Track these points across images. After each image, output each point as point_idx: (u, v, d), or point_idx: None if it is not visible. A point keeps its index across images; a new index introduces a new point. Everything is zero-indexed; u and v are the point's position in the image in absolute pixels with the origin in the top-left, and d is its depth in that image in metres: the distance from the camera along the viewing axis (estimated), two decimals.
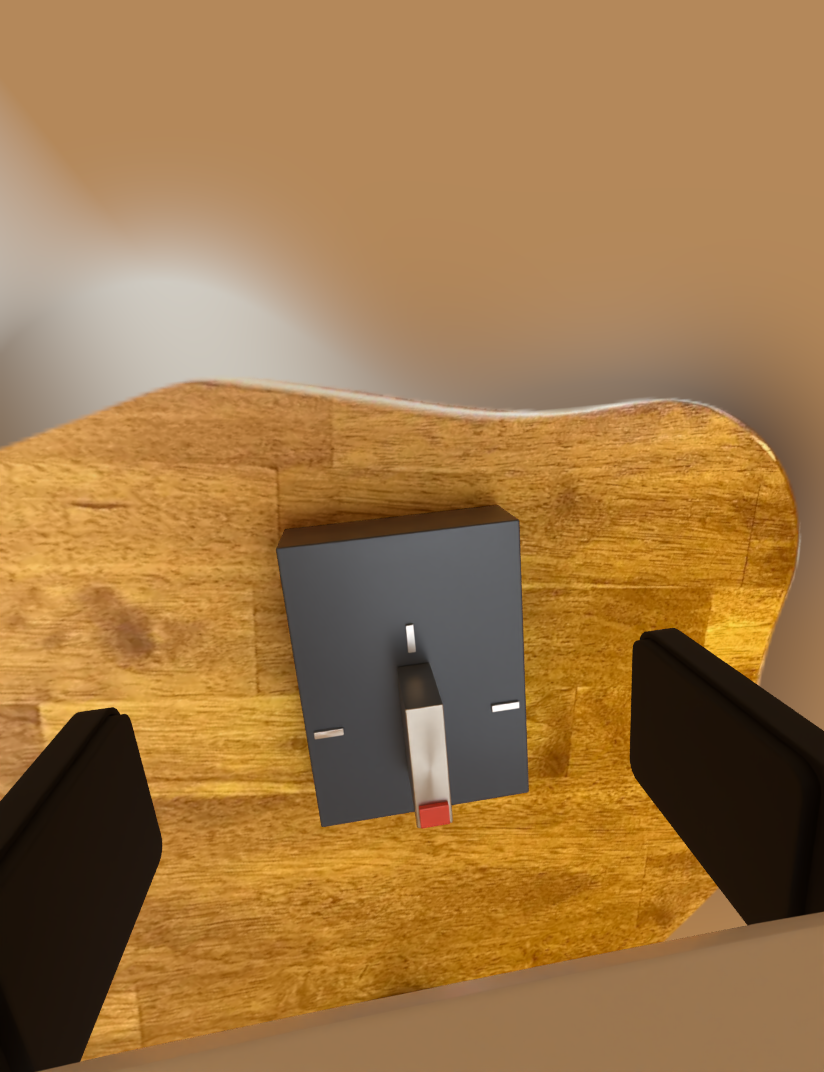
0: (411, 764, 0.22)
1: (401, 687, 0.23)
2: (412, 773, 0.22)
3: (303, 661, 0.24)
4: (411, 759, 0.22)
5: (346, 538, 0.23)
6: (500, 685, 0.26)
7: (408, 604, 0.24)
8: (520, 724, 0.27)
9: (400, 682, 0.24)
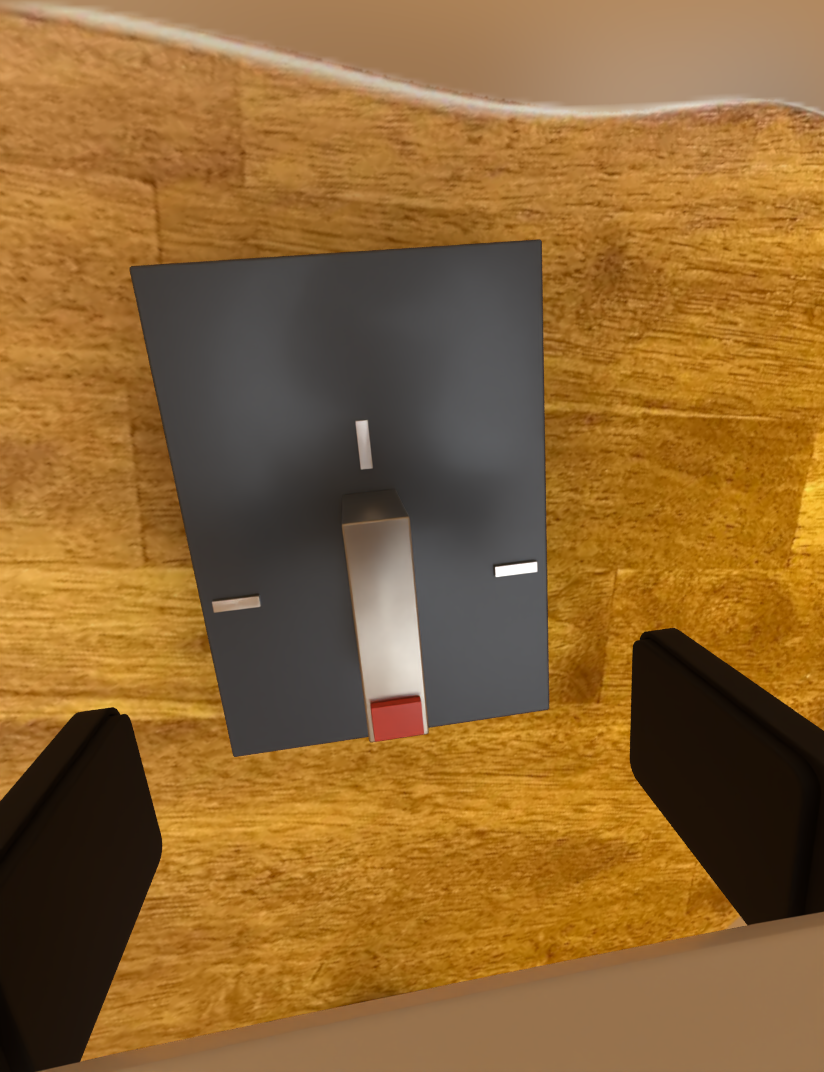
0: (356, 628, 0.13)
1: (343, 508, 0.14)
2: (358, 644, 0.13)
3: (189, 478, 0.15)
4: (355, 618, 0.13)
5: (252, 259, 0.14)
6: (508, 533, 0.17)
7: (359, 385, 0.15)
8: (538, 600, 0.17)
9: (343, 505, 0.14)
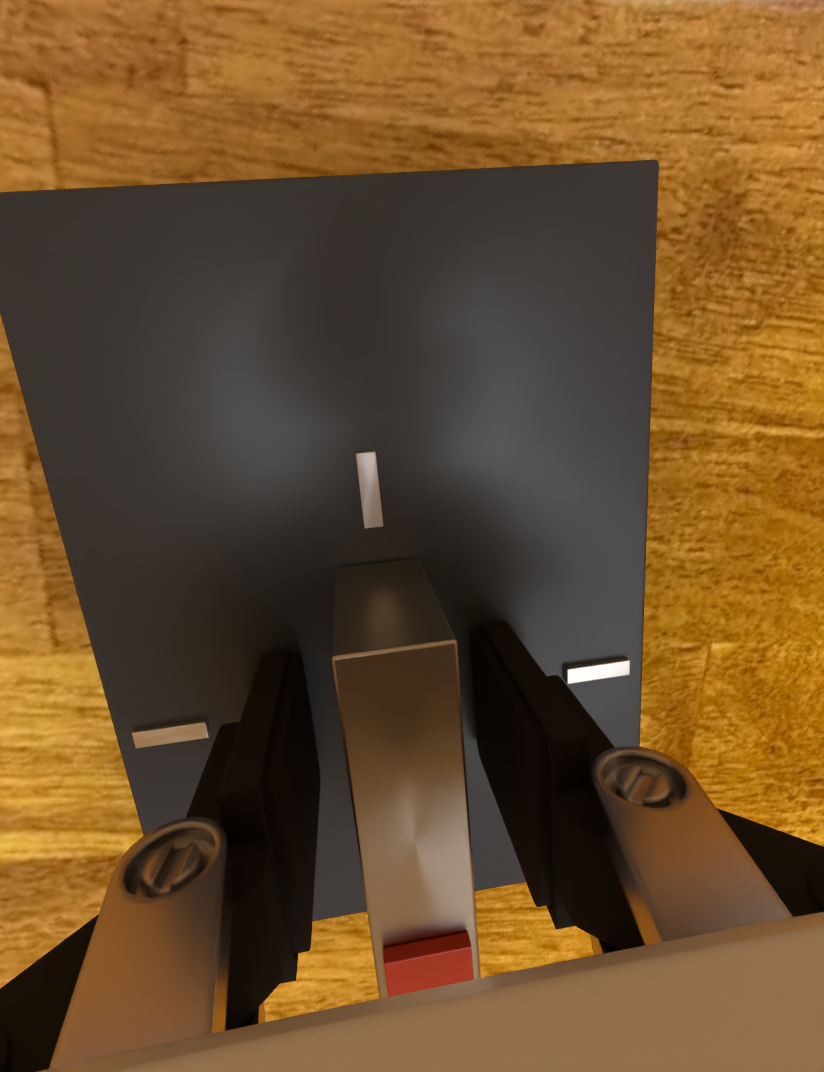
0: (358, 829, 0.07)
1: (336, 604, 0.08)
2: (362, 856, 0.07)
3: (89, 546, 0.09)
4: (357, 815, 0.07)
5: (184, 187, 0.08)
6: (587, 619, 0.11)
7: (363, 396, 0.09)
8: (627, 713, 0.12)
9: (336, 594, 0.09)
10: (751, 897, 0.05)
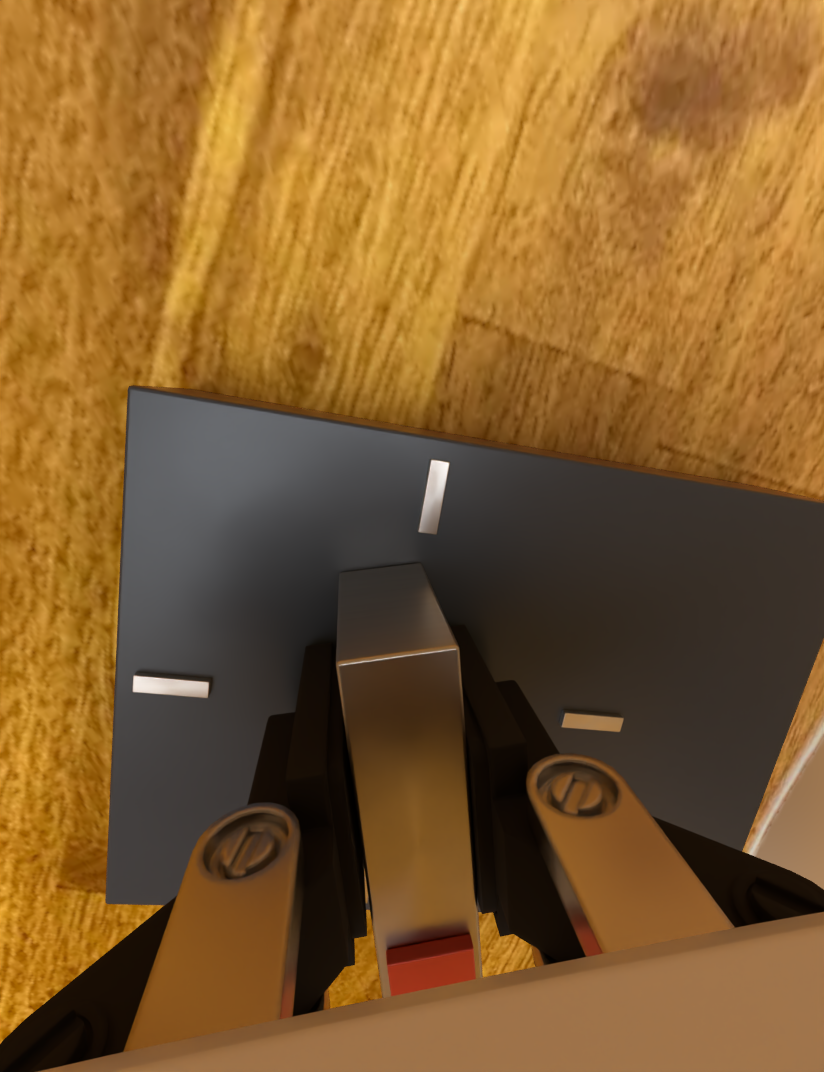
0: (361, 832, 0.07)
1: (339, 609, 0.08)
2: (365, 859, 0.07)
3: (630, 493, 0.10)
4: (360, 818, 0.07)
5: (813, 638, 0.12)
6: None
7: (656, 727, 0.12)
8: None
9: (340, 599, 0.09)
10: (686, 899, 0.05)
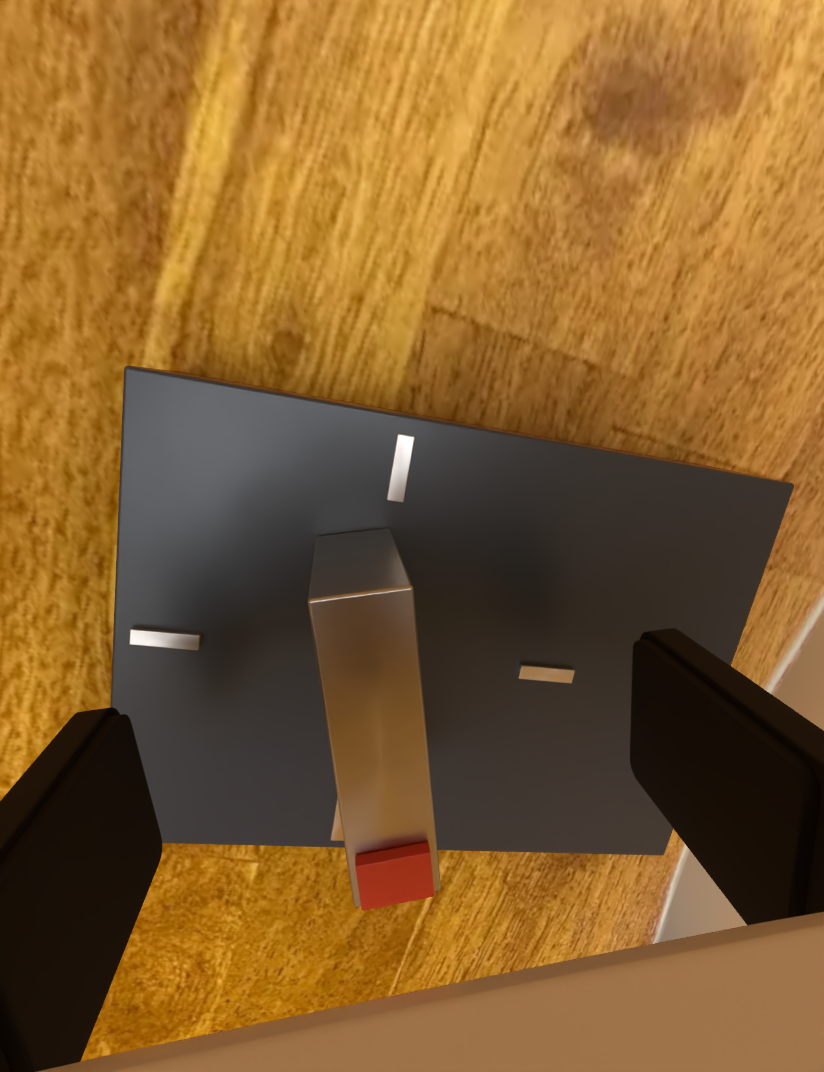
0: (332, 750, 0.09)
1: (314, 563, 0.09)
2: (335, 774, 0.09)
3: (578, 465, 0.12)
4: (331, 737, 0.08)
5: (746, 599, 0.14)
6: None
7: (605, 679, 0.13)
8: (287, 836, 0.13)
9: (315, 556, 0.10)
10: None
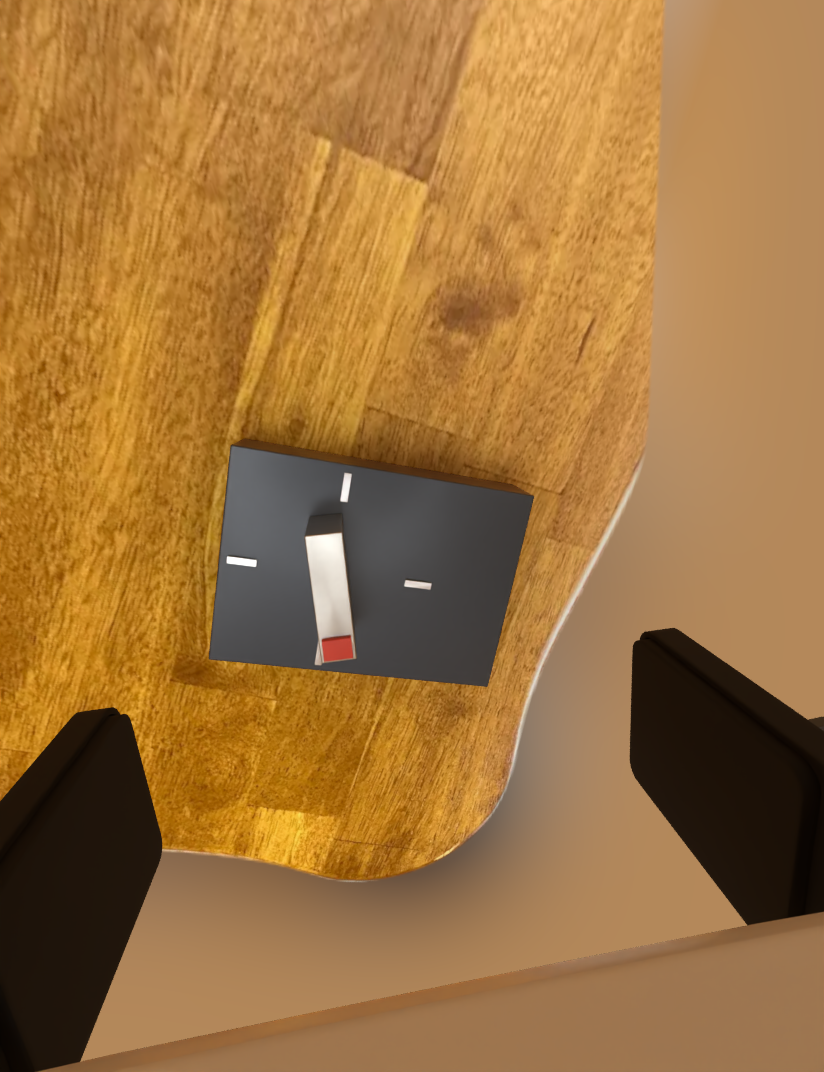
0: (313, 595, 0.23)
1: (307, 526, 0.24)
2: (314, 604, 0.23)
3: (427, 486, 0.26)
4: (312, 589, 0.23)
5: (519, 552, 0.28)
6: None
7: (448, 589, 0.27)
8: (293, 662, 0.27)
9: (308, 524, 0.24)
10: None
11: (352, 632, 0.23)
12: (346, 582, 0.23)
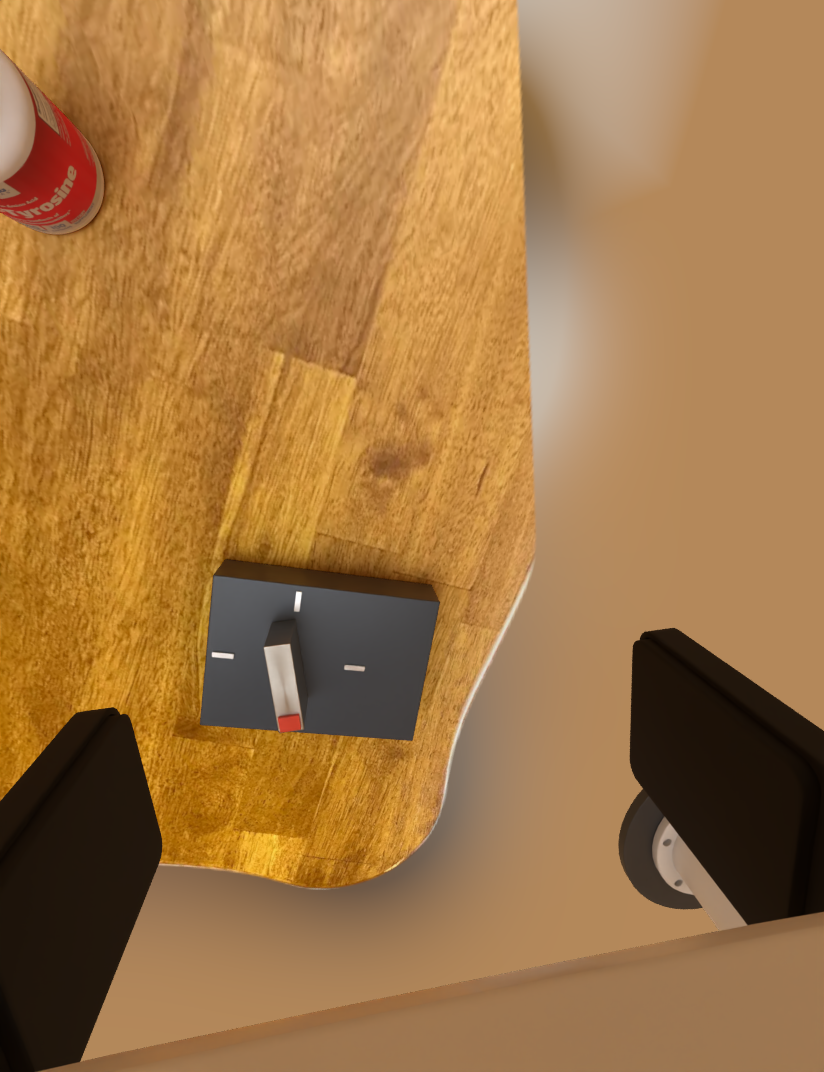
0: (271, 686, 0.32)
1: (268, 634, 0.33)
2: (272, 692, 0.32)
3: (358, 598, 0.35)
4: (270, 682, 0.32)
5: (431, 641, 0.37)
6: None
7: (378, 670, 0.37)
8: (263, 725, 0.37)
9: (269, 631, 0.34)
10: None
11: (300, 711, 0.33)
12: (294, 677, 0.32)
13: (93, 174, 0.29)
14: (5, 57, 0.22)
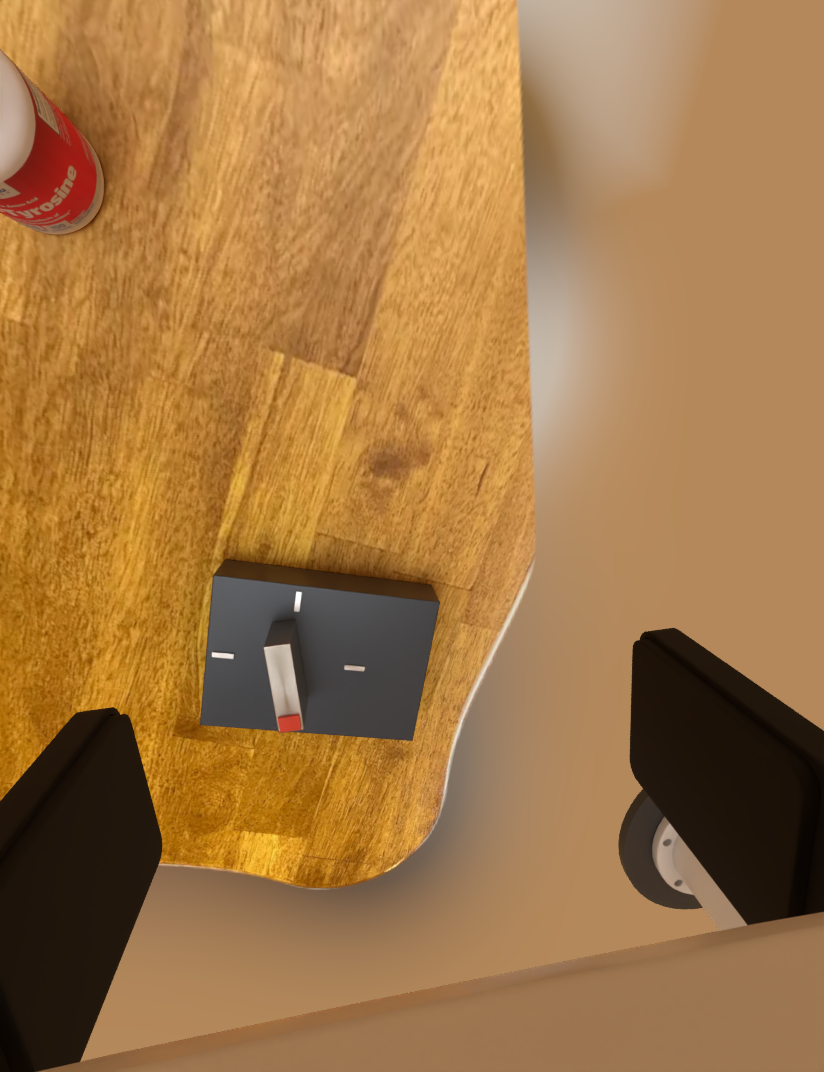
0: (271, 686, 0.32)
1: (268, 634, 0.33)
2: (272, 692, 0.32)
3: (358, 598, 0.35)
4: (270, 682, 0.32)
5: (431, 641, 0.37)
6: None
7: (378, 670, 0.37)
8: (263, 725, 0.37)
9: (269, 631, 0.34)
10: None
11: (300, 711, 0.33)
12: (294, 677, 0.32)
13: (93, 174, 0.29)
14: (5, 57, 0.22)
